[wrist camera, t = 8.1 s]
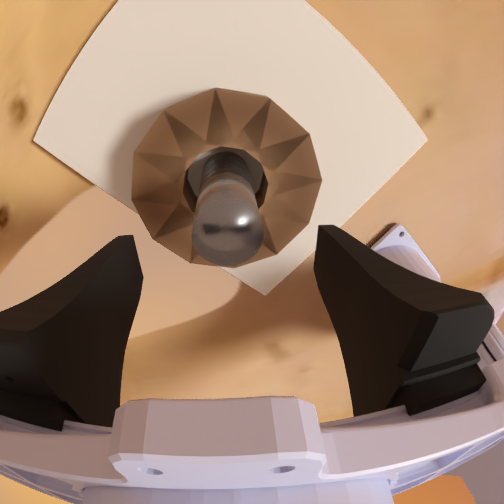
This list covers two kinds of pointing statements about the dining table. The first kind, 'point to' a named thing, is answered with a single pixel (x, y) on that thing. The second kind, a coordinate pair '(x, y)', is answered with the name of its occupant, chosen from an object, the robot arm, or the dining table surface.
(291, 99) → the mat
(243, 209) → the peg
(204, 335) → the dining table surface
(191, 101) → the ring
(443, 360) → the robot arm
